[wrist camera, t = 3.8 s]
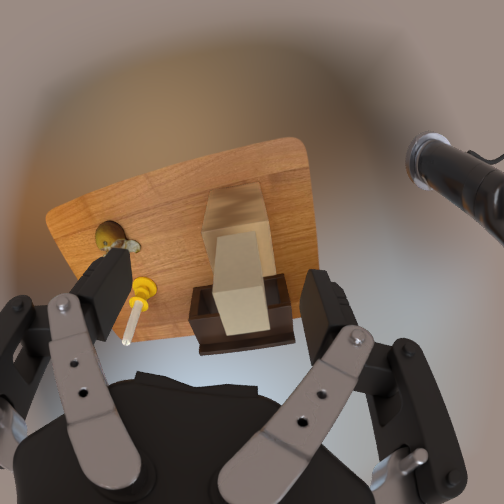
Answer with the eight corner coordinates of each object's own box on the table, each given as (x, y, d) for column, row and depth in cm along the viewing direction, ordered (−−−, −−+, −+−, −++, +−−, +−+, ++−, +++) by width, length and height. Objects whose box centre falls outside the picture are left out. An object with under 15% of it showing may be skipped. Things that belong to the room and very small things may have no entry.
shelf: (283, 273, 54) (293, 313, 45) (287, 302, 59) (295, 343, 50) (193, 287, 55) (186, 328, 46) (203, 315, 59) (200, 355, 50)
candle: (141, 272, 52) (118, 331, 39) (161, 286, 55) (145, 347, 42) (128, 286, 54) (106, 343, 41) (148, 299, 56) (131, 358, 43)
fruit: (111, 262, 51) (105, 273, 48) (88, 228, 46) (80, 238, 43) (143, 249, 50) (138, 260, 47) (121, 212, 45) (113, 221, 42)
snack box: (255, 230, 33) (262, 285, 25) (262, 271, 36) (270, 329, 28) (217, 236, 33) (212, 293, 25) (227, 276, 36) (226, 335, 28)
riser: (259, 181, 44) (268, 220, 32) (266, 225, 48) (276, 274, 37) (210, 190, 44) (200, 232, 33) (220, 232, 49) (216, 284, 37)
